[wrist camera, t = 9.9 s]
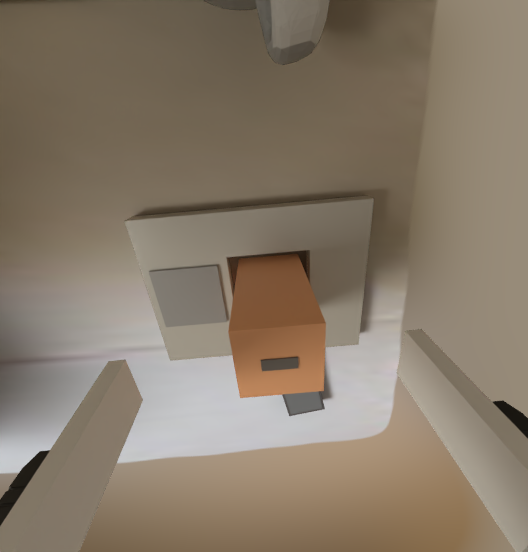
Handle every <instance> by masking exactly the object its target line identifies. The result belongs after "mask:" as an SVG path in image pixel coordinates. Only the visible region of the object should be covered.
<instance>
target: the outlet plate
mask: <svg viewBox="0 0 528 552" xmlns="http://www.w3.org/2000/svg"><path fill="white" fill-rule="evenodd" d="M373 204H374V198H372V197H369V196H356V197H345V198H334V199H323V200H311V201H300V202H289V203H278V204H267V205H256V206H245V207H234V208H223V209H211V210H200V211H189V212H178V213H167V214H156V215H145V216H134V217H131V218H129V219H127V220H125V224H126V227H127V230H128V233H129V237H130V240H131V243H132V246H133V249H134V252H135V255H136V258H137V261H138V264H139V267H140V270H141V273H142V276H143V279H144V282H145V285H146V288H147V291H148V294H149V297H150V300H151V303H152V306H153V309H154V312H155V315H156V318H157V321H158V324H159V327H160V331H161V334H162V337H163V340H164V343H165V346H166V349H167V352H168V355H169V358H170V360H182V359H194V358H205V357H217V356H229V355H232V350H231V344H230V339H229V333H228V330H229V323H230V316H231V309H232V303H233V296H234V287H233V280H232V274H231V268H230V261H229V257H236V256H247V255H259V254H270V253H281V252H293V251H304V250H307V278H308V280H309V283H310V285H311V288H312V290H313V293H314V295H315V298H316V300H317V302H318V305H319V307H320V310H321V312H322V315H323V317H324V320H325V322H326V338H325V347H334V346H345V345H357V344H358V343H359V334H360V325H361V316H362V306H363V297H364V288H365V278H366V269H367V260H368V251H369V241H370V232H371V223H372V214H373Z"/></svg>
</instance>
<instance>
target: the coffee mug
mask: <svg viewBox="0 0 528 552" xmlns="http://www.w3.org/2000/svg"><path fill="white" fill-rule="evenodd" d="M204 1H206V2H208V3H210V4H212V5H215V6H218V7H221V8H225V9H234V10H248V9H255V8H257V11H258V15H259V19H260V23H261V27H262V31H263V36H264V40H265V44H266V47H267V50H268V53H269V55H270V57H271V59H272V60H273V61H274V62H275V63H278V64H282V65H285V64H289V63H293V62H297V61H299V60H300V59H302V58H304V57H306V56H308V55H309V54H311V53H312V51H313V50H314V48H315V47H316V45H317V44H318V42H319V41H320V38H321V35H322V32H323V29H324V25H325V22H326V19H327V13H328V7H329V1H330V0H204Z"/></svg>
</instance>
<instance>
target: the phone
mask: <svg viewBox="0 0 528 552" xmlns="http://www.w3.org/2000/svg"><path fill="white" fill-rule="evenodd" d="M282 395H283V398H284V401H285V404H286V407H287V410H288V413H289V416H292V415H297V414H302V413H307V412H312V411H317V410H322V409H325V408H324V404H323V400H322V395H321V391H317V392H305V393H293V394H282Z"/></svg>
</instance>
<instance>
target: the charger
mask: <svg viewBox="0 0 528 552" xmlns="http://www.w3.org/2000/svg"><path fill="white" fill-rule="evenodd" d="M228 333H229V339H230V344H231V350H232V355H233V360H234V366H235V371H236V377H237V382H238V388H239V393H240V398H245V397H257V396H269V395H281V394H293V393H305V392H317V391H324V368H325V338H326V322H325V320H324V317H323V315H322V312H321V310H320V307H319V305H318V302H317V300H316V298H315V295H314V293H313V290H312V288H311V285H310V283H309V280H308V278H307V276H306V273H305V271H304V268H303V266H302V263H301V261H300V258H299V256H298V254H288V255H276V256H265V257H254V258H242V259H239V262H238V269H237V275H236V282H235V289H234V296H233V303H232V309H231V316H230V323H229V330H228Z"/></svg>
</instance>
